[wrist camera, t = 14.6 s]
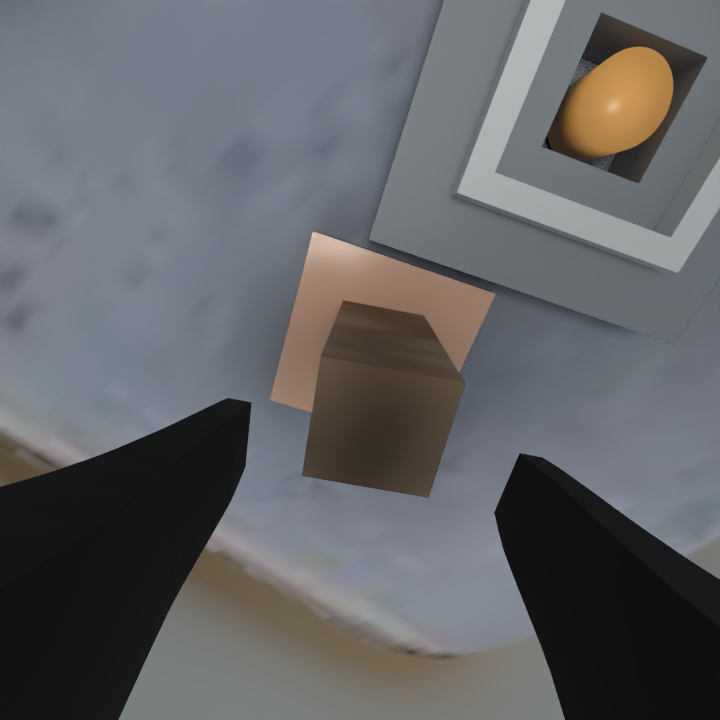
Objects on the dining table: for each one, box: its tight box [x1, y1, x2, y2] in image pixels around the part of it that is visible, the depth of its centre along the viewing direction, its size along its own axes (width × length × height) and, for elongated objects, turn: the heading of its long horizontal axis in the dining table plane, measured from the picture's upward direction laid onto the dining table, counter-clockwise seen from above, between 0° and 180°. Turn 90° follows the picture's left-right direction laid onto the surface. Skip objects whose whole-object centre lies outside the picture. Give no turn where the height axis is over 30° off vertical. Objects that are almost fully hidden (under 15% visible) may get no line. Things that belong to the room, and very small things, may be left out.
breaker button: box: [547, 47, 673, 163], centre depth 13 cm, size 3×3×2 cm
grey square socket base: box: [369, 0, 720, 345], centre depth 13 cm, size 14×14×4 cm
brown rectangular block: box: [302, 300, 465, 498], centre depth 14 cm, size 4×4×8 cm
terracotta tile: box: [270, 231, 496, 413], centre depth 18 cm, size 9×9×1 cm
